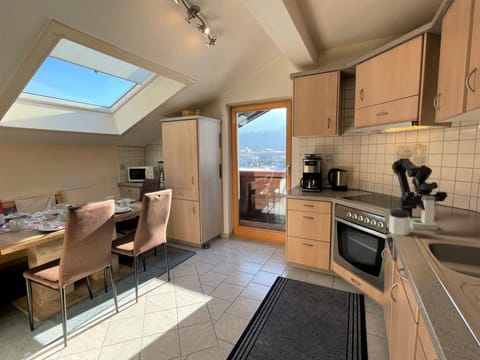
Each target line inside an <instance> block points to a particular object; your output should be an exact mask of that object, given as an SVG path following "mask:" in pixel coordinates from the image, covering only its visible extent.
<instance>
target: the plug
mask: <svg viewBox="0 0 480 360" xmlns="http://www.w3.org/2000/svg"><path fill="white" fill-rule="evenodd" d="M421 199H422V202H423V205H424V207H425V210H422V209H421V216H420V218H421V222H423V223H424V224H434V223H435V210H434V207H435V208H436V204H435V197H433V196H422V198H421Z"/></svg>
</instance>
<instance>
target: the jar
mask: <svg viewBox="0 0 480 360" xmlns="http://www.w3.org/2000/svg"><path fill="white" fill-rule="evenodd" d="M388 218H389V220H388V221H389V222H388V230H389V231H388V232H389V233H391V234H392V235H396V236H403V237H404V236H407V235H409V234H410V227H409V223H410V217H409V212H408V211H406V210H402V209H401V208H397V209H396V208H393V209H390V214H389V217H388Z"/></svg>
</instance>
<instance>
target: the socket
mask: <svg viewBox="0 0 480 360" xmlns="http://www.w3.org/2000/svg"><path fill="white" fill-rule="evenodd" d="M438 228H439V227H438V224H437V223H435V222H434V224H424V223H423V222H421V217H420V218H419V217H418V218H416V217H414V218H410V223H409V229H411V230H416V231H417V230H419V231H420V230H421V231H438Z"/></svg>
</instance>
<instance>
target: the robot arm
mask: <svg viewBox="0 0 480 360" xmlns="http://www.w3.org/2000/svg"><path fill="white" fill-rule="evenodd" d="M391 169H392V170H393V173H394V174H395V176H397V178H398V183H399V187H400V191H401V196H400V198H399V201H398V203H397V205H398V206H397V207H398V209H401V210H406V211H408V212H409V217H410V218H415V217H414V216H413V209H415V210H416V209H417V207H419V208H420V209H421V211H422V210H425V207H424V205H423V202H422V196H433V197H435V205H437V202H444V201H445V200H446V198H447V197H448V193H447V192H446V191H436V193H433V190H435V189H438V187H439V185H438V182H436V181H433V182H431V183H430V182H426V181H427V180H428V179H429V178H430V176H431V174H432V172H433V170H432V168H430V167H429V166H427V165H425V164H421V165H420V166H419V165H415V164H414V163H413V161H410V158H405V157H403V158H399V159H398V160H395V161H394V162H393V163H392V165H391ZM408 177H409V178H412V179H411V181H412V182H411V184H413V188H414V191H411V187H410V184H409V181H408ZM434 211H436V206H435V207H434Z"/></svg>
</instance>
